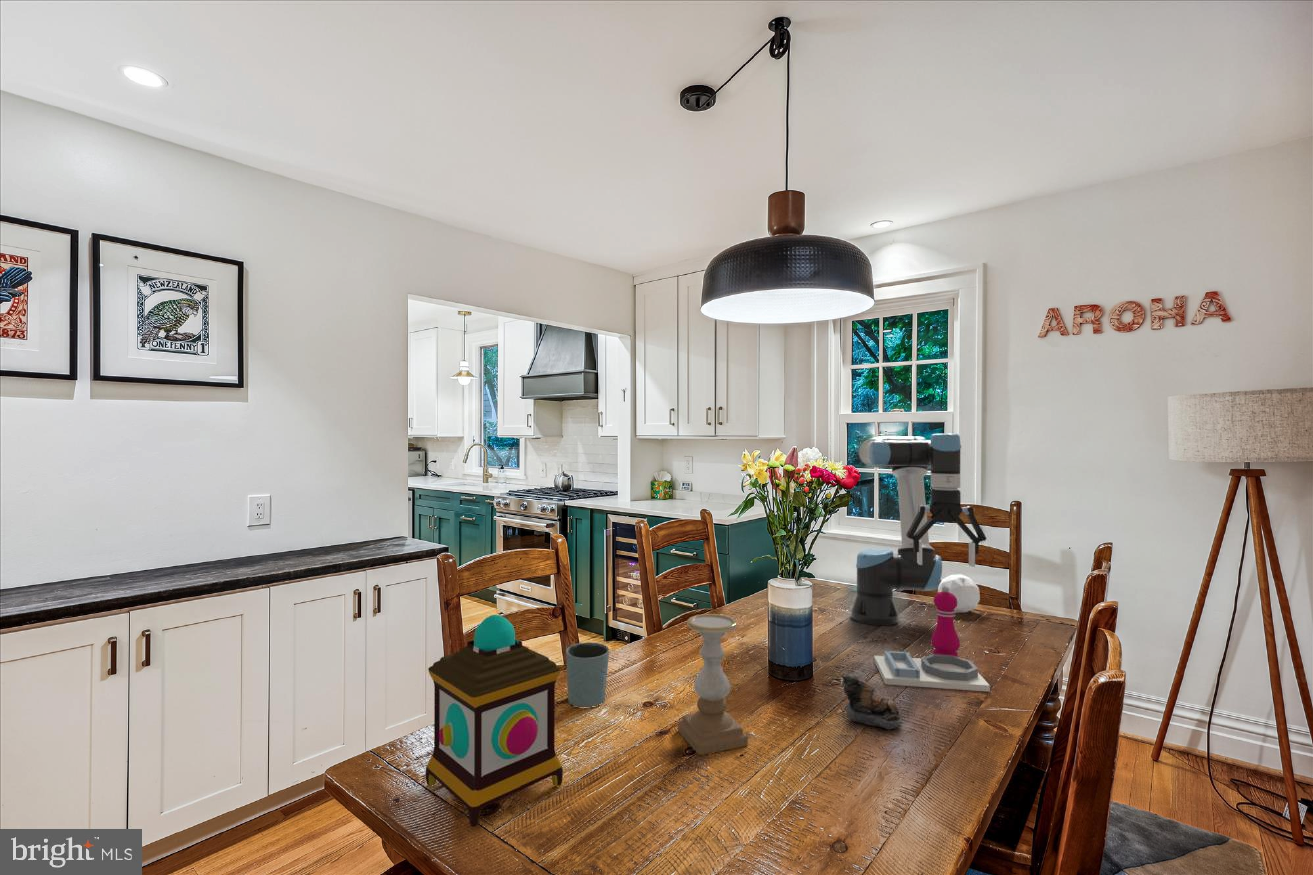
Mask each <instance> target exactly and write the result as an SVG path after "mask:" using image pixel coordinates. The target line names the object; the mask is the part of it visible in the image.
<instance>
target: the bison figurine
mask: <svg viewBox="0 0 1313 875" xmlns="http://www.w3.org/2000/svg"><path fill="white" fill-rule="evenodd" d="M842 679H843V680H842V683H843V684H844V685H843V690H844V693H845V695H846V697H847V700H848V701H849V702H847V703H846V705H845V706H844V710H845V714H846V717H847V718H848V719H850V720H851V721H854V722H858V723H861V724H865V725H868V726H873V727H878V728H884V729H885V730H893V729H894V728H896V727H898V726H900V725H902V723H903V719H902V717H901V716H900V710H899V707H898V705H897V704H896V703H895V701H893V699H892V698H891V697H888V696H885V695H883V694H881V692H879V691H878V690H877V689H876V688H875V687H874V686H873V685H871V683H869V682H867V681H865V679H859V677H858V676H856V675H855V674H851V673H849V674H846V675H844V674H842Z"/></svg>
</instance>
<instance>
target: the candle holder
mask: <svg viewBox="0 0 1313 875" xmlns="http://www.w3.org/2000/svg"><path fill="white" fill-rule="evenodd" d="M686 621H687V622H686V624H687V626H688V628H690V629H691V630H693V631H695V632H698V633H699V634H700V636H701V638H702V640H703V644H702V646H701V648H700V650H699V652H698V653H699V655H700V656H701V658H702V660H703V666H702V668H701V669H700V671H699V673H698V675H697V676H696V678H695V679H694V684H693V689H694V692H695V693H696V694H697V696H698V697H699V698H698V700H697V701H696V706H697V709H698V710H697V711H695V712H694V713H689V714H685V715H683V716H682V720H680V721H678V722H677V732H678V731H679V732H680V733H679V732H678V733H679V735H680V734H681V735H682V736H683V737H684V738H685V739H684V738H683V737H682V736H681V735H680V736H681V737H682V738H683V739H684V741H685V740H686V741H687V742H688V743H689V744H690V745H689V744H688V743H687V742H686V741H685V742H686V743H687V744H688V745H689V746H690V748H691V747H692V748H693V749H694V750H695V751H696V752H695V751H694V750H693V749H692V748H691V749H692V750H693V751H694V752H695V753H696V754H697V755H698V754H699V755H698V756H704V755H703V754H707V755H710V754H709V753H712V754H714V753H713V752H717V753H721V751H722V752H724V751H723V750H727V751H731V749H732V750H734V749H733V748H737V749H741V748H745V747H744V746H746V747H748V746H749V745H748V743H749V741H748V738H749V737H748V735H747V734H746V733H745V732H744V731H743V730H744V729H743V727H742V726H741V725H740V723H739V722H737V721H736V720H735V718H733V717H732V716H731V715H730V714H729V713H728V712H726V710H727V709H728V703H727V700H726V699H725V698H726V697H727V696H728V695H729V693H730V691H731V684H730V681H729V679H728V677H727V675H726V674H725V672H724V670H723V668H722V666H721V661H722V659H723V657H724V656H725V654H726V653H725V650H724V648H723V647H722V644H721V642H722V641H721V640H722V639H723V637H724V635H725V634H726V633H729V632H731V631H732V632H733V631H734V630H735V629H736V628H737V627H738V622H737V620H736V618H733V617H732V616H728V615H724V614H717V613H703V614H695V615H693V616H690V617H689V618H687V620H686ZM740 747H741V748H740Z"/></svg>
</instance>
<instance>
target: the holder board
mask: <svg viewBox="0 0 1313 875" xmlns="http://www.w3.org/2000/svg"><path fill="white" fill-rule="evenodd" d="M873 661H874V662H873V663H874V664H875V666H876V668H877V670H878V672H879V674H880V676H881V678H882V680H883V682H884V684H885V685H893V686H905V687H916V688H917V687H918V688H919V687H920V688H930V689H931V688H932V689H933V688H935V689H947V690H961V691H974V692H975V691H976V692H987V693H989V692H991V687H990V686H991V685H990V684H989V683H988V682H987V681H986V680H985V678H984V677H983V676H982V675H981V674H980V673H979V668H978V667H977V666H976V664H975V663H974V662H973V661H972V660H969V659H966V658H965V659H964V658H961V657H960V656H958V657H956V656H952V655H937V654H933V653H931V654H929V655H925V656H922V657H921V658H920V657H919V658H918V657H917V658H916V657H912V656H911V654H910V652H908V651H893V650H885V651H884V655H873Z"/></svg>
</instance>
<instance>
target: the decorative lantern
mask: <svg viewBox="0 0 1313 875" xmlns="http://www.w3.org/2000/svg"><path fill="white" fill-rule="evenodd" d="M473 636H474V638H473V639H474V640H469V641H467V643H466V645H465V646H463V647H461V648H460V649H459V650H458V651H456V652H454V653H452V654H451V653H450V654H449V655H444V656H441V657H440V659H439V660H437V661H434V663H433V664H432V665H431V666H429V667H428V668H427V670H428V674H429V676H430V677H431V680H433V685H434V686H433V687H434V696H433V697H434V704H433V705H434V709H433V710H434V711H433V712H434V716H433V717H434V721H433V722H434V723H433V731H434V732H433V733H434V734H433V735H434V737H433V738H434V739H433V740H434V741H433V743H434V744H433V746H434V747H433V752H432V755H431V757H430V758H429V759H428V760H429V761H428V762H427V764H426V767H425V782H426V785H427V787H433V786H435V784H436V781H437V782H438V783H439V784H440V785H442V787H444V788H445V789H446V791H448V792H449V793H450V794H451V796H452V795H453V797H454V798H455V799H457V800H458V801H459V802H460V803H461V804H462V805H463V806H464V807H465V809H466V810H467V812H468V820H469V824H470V827H471V828H473V827H475V828H477V826H478V825H479V822H480V815H481V812H482V810H483V809H484V808H486V807H489V806H490V805H492V804H495V803H496V802H499V801H501V800H503V799H505V798H507V797H510V796H512V795H514V794H516V793H518V792H520V791H522V790H524V789H527V788H528V787H530V786H533V785H535V784H537V783H540V782H542V781H544V780H546V779H548V778H550V777H551V782H552V784H553V786H554V785H555V786H559V787H560V786H561V785H562V783H563V774H564V773H563V772H564V770H563V769H564V768H563V765H562V763H561V761H560V759H559V758H558V756H557V754H556V750H555V741H556V740H555V737H556V736H555V735H556V734H555V729H556V728H555V723H556V722H555V719H556V718H555V714H556V712H555V708H556V707H555V703H556V700H555V699H556V698H555V697H556V696H555V693H556V692H555V691H556V690H555V687H556V682H557V680H558V678H559V676H560V674H561V670H562V668H561V667H560V665H557V664H556V662H554V661H553V660H550V659H549V657H548V656H546V655H543V654H541V653H539V652H536V651H535V650H532V649H530V648H529V647H528V646H525V645H523V641H521V640H519V639H516V632H515V628H514V625H513V624H512V623H511V622H510V621H509V620H508V619H507V618H505V617H504V616H502V615H500V614H491V615H489V616H487V617H485V618H484V619H483V620H482V621H481V623H480V624H479V625H477V627H476V628H475V631H474V634H473ZM432 785H433V786H432ZM555 786H554V787H555Z"/></svg>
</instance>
